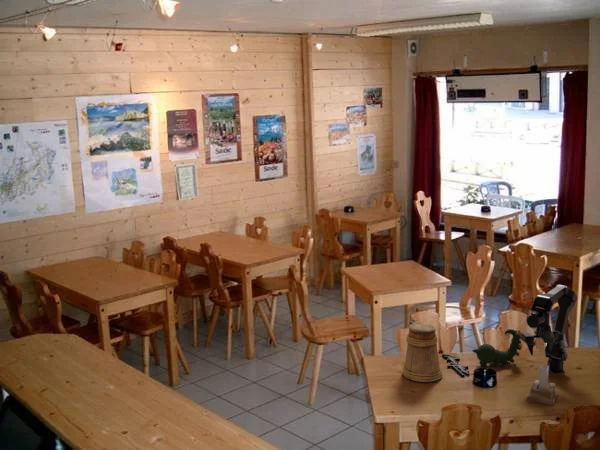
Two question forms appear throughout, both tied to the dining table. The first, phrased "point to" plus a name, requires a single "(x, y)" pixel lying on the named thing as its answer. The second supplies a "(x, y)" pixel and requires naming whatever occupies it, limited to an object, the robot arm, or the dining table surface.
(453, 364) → the nameplate
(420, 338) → the tankard
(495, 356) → the toy figurine
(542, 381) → the clay bar
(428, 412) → the dining table surface
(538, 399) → the clay rack
